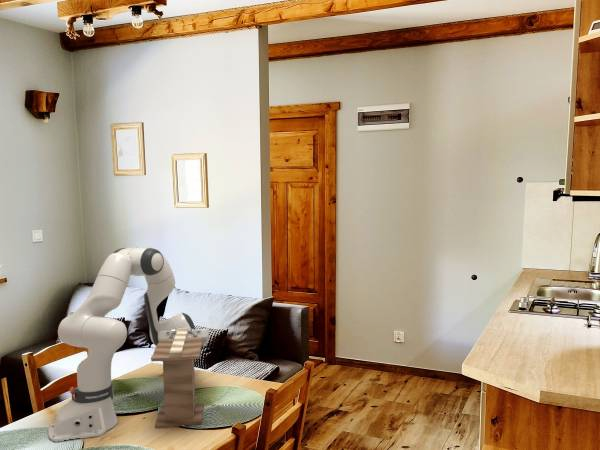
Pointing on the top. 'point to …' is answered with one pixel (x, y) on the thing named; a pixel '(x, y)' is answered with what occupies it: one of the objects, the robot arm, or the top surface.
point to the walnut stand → (179, 384)
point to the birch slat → (178, 343)
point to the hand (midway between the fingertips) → (182, 331)
